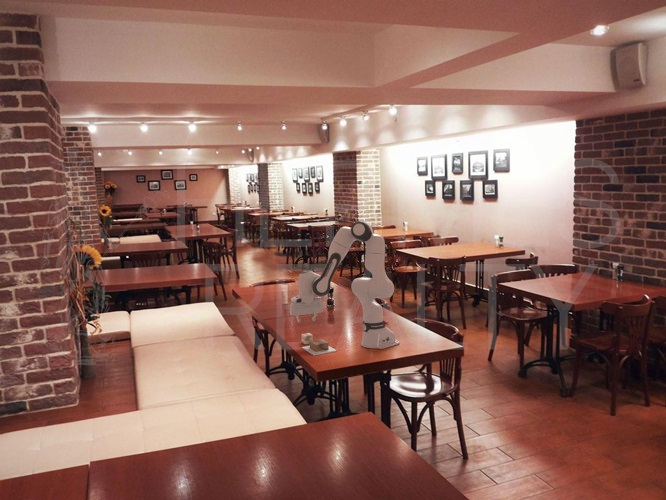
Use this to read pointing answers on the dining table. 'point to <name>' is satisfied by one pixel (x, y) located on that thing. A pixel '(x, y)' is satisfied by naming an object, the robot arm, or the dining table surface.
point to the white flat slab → (318, 351)
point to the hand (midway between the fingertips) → (306, 321)
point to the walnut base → (319, 345)
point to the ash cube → (307, 338)
